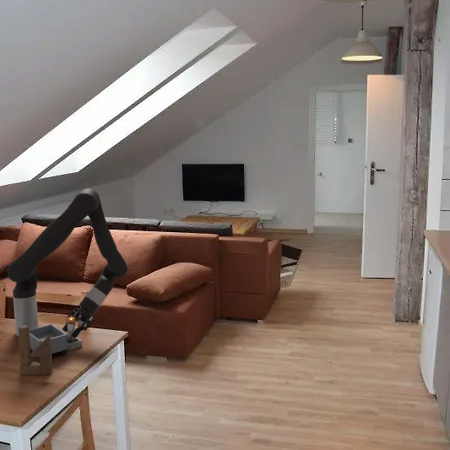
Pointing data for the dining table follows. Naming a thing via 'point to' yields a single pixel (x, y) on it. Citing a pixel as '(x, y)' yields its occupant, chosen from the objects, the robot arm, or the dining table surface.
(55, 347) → the grey tray with sleeve
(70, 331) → the pin
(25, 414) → the dining table surface
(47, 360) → the brown wooden stand
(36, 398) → the dining table surface
